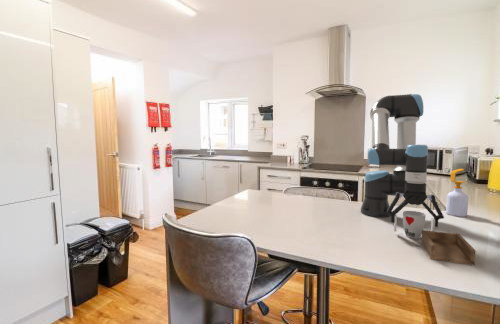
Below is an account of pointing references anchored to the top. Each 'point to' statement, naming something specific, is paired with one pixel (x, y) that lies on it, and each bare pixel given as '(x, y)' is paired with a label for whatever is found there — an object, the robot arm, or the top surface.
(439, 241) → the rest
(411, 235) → the cup
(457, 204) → the soap bottle
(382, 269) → the top surface
